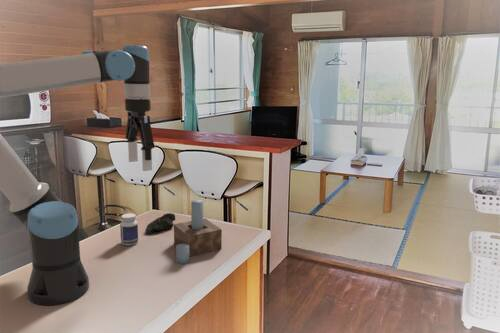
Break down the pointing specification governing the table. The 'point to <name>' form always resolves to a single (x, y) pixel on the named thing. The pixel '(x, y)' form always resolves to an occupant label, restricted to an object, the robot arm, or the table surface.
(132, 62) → the robot arm
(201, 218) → the long dowel
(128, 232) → the pill bottle
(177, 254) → the grey rounded cylinder
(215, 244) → the sleeve block
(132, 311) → the table surface
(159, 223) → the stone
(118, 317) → the table surface
